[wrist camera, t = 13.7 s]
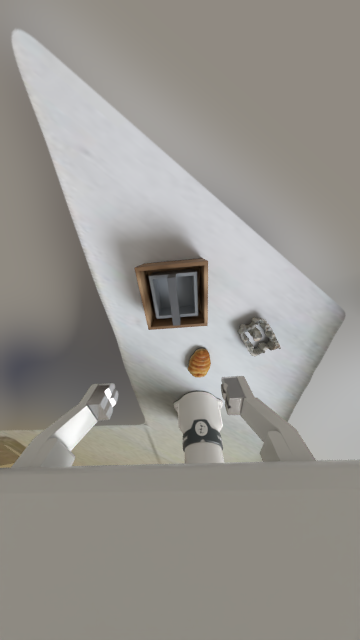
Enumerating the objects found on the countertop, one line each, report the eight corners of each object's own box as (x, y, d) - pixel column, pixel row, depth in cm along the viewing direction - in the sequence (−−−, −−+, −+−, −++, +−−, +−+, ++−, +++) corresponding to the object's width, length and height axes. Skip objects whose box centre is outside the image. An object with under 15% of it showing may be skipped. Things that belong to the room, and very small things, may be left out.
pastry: (190, 345, 40) (191, 354, 37) (213, 347, 41) (216, 356, 37) (186, 368, 45) (187, 378, 41) (207, 369, 45) (209, 379, 42)
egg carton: (273, 340, 39) (282, 349, 36) (248, 351, 41) (254, 361, 38) (261, 312, 35) (270, 320, 32) (234, 326, 37) (239, 334, 34)
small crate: (195, 306, 34) (200, 323, 26) (159, 309, 34) (153, 327, 26) (194, 268, 29) (199, 275, 22) (153, 272, 30) (143, 280, 22)
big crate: (202, 311, 35) (207, 325, 29) (154, 315, 36) (148, 329, 29) (202, 258, 29) (207, 261, 23) (144, 263, 30) (134, 267, 23)
